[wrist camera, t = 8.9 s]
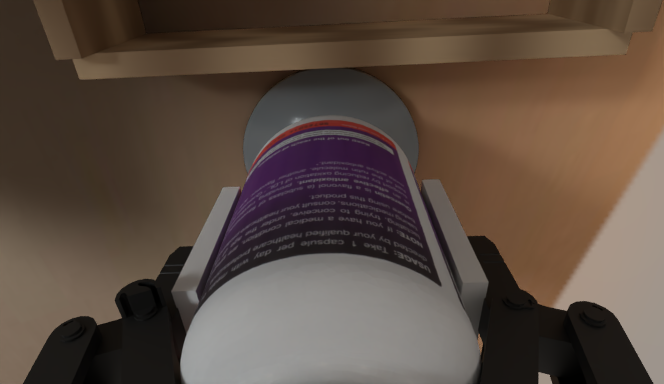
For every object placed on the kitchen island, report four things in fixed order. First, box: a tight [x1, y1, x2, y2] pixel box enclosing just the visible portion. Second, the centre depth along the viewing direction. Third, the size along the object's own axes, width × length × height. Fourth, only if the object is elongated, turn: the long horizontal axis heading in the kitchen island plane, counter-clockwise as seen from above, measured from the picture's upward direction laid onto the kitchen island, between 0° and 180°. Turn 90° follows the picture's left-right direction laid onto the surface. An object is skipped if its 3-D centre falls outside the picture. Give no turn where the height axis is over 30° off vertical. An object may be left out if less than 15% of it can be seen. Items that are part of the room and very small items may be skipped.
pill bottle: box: [180, 115, 482, 384], centre depth 14 cm, size 8×8×14 cm
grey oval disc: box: [243, 67, 419, 174], centre depth 23 cm, size 10×10×1 cm
